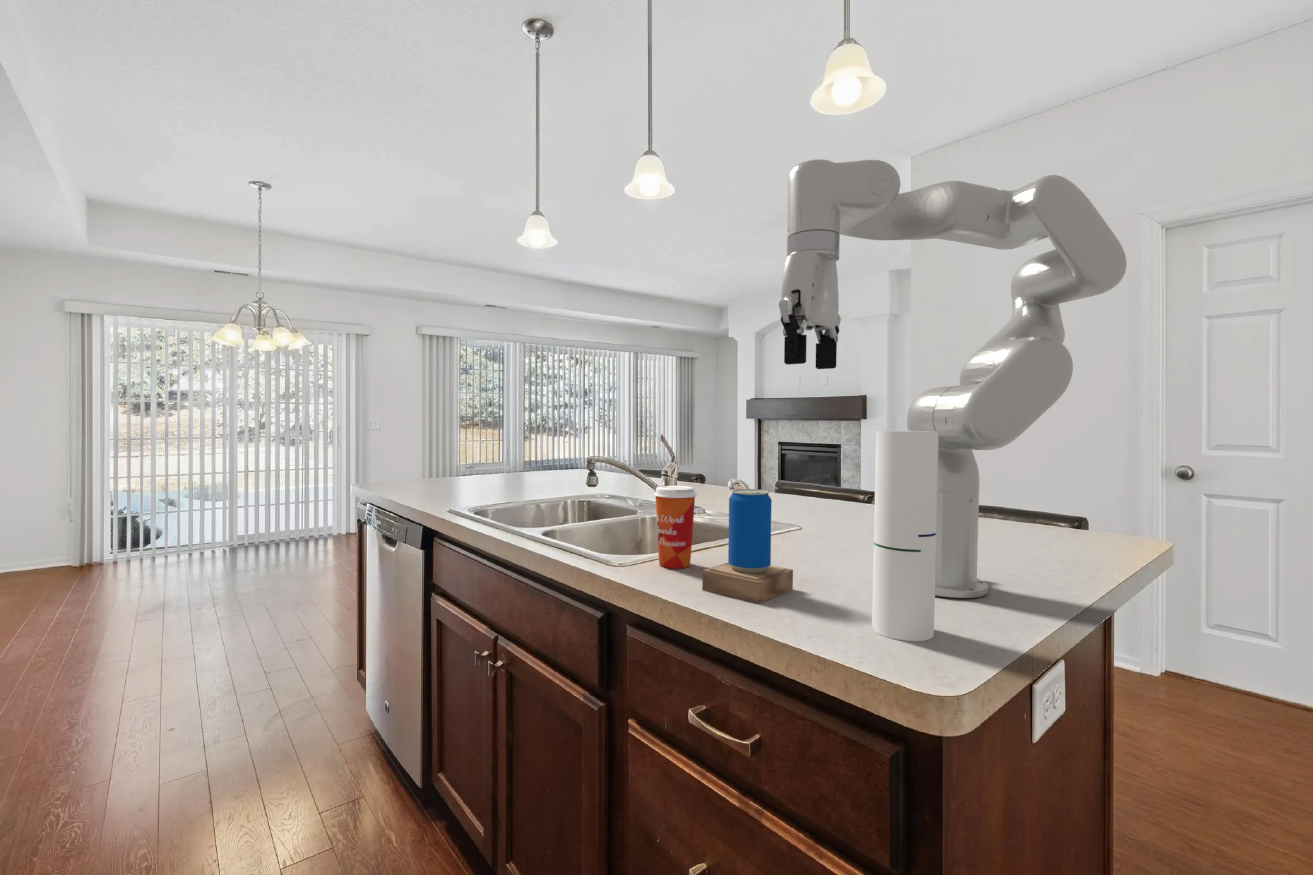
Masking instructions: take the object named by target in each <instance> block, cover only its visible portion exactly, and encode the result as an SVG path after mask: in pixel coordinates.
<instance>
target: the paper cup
mask: <svg viewBox="0 0 1313 875" xmlns="http://www.w3.org/2000/svg"><path fill="white" fill-rule="evenodd" d="M653 496H655V511H656V514H655V515H656V535H657V552H658V565H659V566H660V567H661V568H663V567H664V569H668V570H669V569H670V570H671V569H672V570H681V569H687V568H689V567H690V565H691V558H692V546H693V545H692V544H693V530H694V519H695V518H694V515H695V498H696V497H697V493H696V492H695V489H694V487H692V486H687V485H685V486H684V485H662V486H657V487H656V489H655V492H654V493H653Z"/></svg>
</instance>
